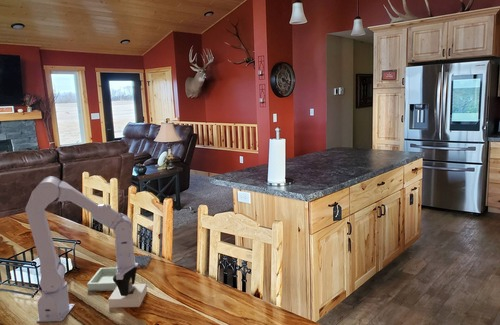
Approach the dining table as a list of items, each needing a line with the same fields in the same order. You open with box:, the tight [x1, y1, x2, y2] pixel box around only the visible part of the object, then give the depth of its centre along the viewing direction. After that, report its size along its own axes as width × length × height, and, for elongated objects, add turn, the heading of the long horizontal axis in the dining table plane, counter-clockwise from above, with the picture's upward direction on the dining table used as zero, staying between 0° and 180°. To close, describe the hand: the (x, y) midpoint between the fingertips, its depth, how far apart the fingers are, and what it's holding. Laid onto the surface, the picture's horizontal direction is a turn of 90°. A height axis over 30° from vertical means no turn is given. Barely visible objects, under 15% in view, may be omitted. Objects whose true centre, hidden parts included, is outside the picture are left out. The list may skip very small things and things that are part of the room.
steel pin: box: [128, 278, 133, 294], centre depth 132 cm, size 3×3×8 cm
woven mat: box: [135, 254, 153, 270], centre depth 161 cm, size 10×11×2 cm
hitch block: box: [107, 283, 148, 309], centre depth 132 cm, size 10×10×3 cm
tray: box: [86, 266, 117, 292], centre depth 145 cm, size 13×13×3 cm
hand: (127, 289), depth 132 cm, fingers open, 7 cm apart
